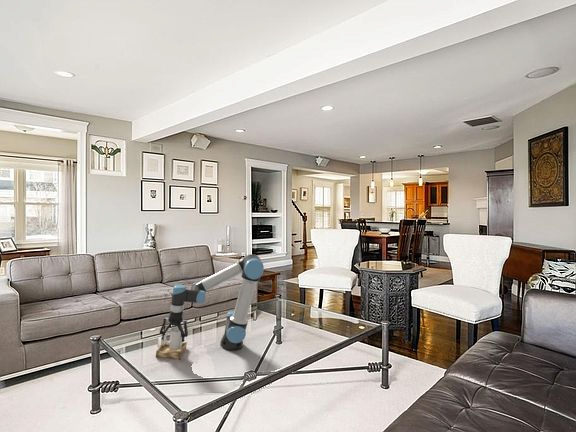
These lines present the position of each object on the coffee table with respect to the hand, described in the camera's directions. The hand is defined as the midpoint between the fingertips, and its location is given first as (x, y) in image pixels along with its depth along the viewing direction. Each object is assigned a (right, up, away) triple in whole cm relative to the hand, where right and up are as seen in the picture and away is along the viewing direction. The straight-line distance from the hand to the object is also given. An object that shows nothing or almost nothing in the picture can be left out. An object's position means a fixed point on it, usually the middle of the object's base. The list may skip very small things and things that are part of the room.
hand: (172, 345), depth 212 cm
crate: (-1, -4, 0) cm, 4 cm away
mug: (0, -2, 0) cm, 2 cm away
